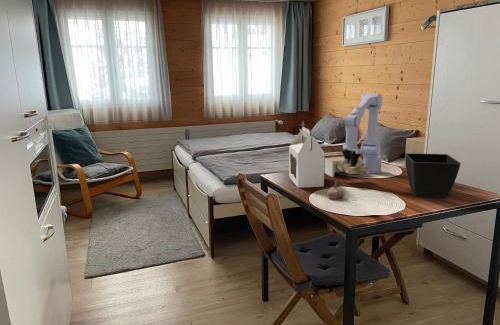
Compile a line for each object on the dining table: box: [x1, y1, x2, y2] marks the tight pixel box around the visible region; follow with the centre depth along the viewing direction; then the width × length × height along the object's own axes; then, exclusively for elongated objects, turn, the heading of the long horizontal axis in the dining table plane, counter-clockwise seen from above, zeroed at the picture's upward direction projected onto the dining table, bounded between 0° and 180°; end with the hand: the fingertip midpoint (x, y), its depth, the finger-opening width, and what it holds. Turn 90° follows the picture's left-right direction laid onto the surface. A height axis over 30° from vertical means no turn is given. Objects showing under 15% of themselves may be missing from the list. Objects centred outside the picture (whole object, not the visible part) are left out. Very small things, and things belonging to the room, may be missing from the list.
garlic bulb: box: [326, 180, 345, 200], centre depth 169 cm, size 8×7×8 cm
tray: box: [337, 159, 368, 175], centre depth 192 cm, size 12×11×5 cm
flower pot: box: [404, 152, 462, 199], centre depth 172 cm, size 19×19×17 cm
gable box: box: [288, 126, 325, 189], centre depth 195 cm, size 22×13×28 cm, turn 5°
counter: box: [324, 156, 363, 178], centre depth 212 cm, size 18×10×9 cm, turn 104°
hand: (350, 165), depth 194 cm, fingers closed on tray, 6 cm apart
